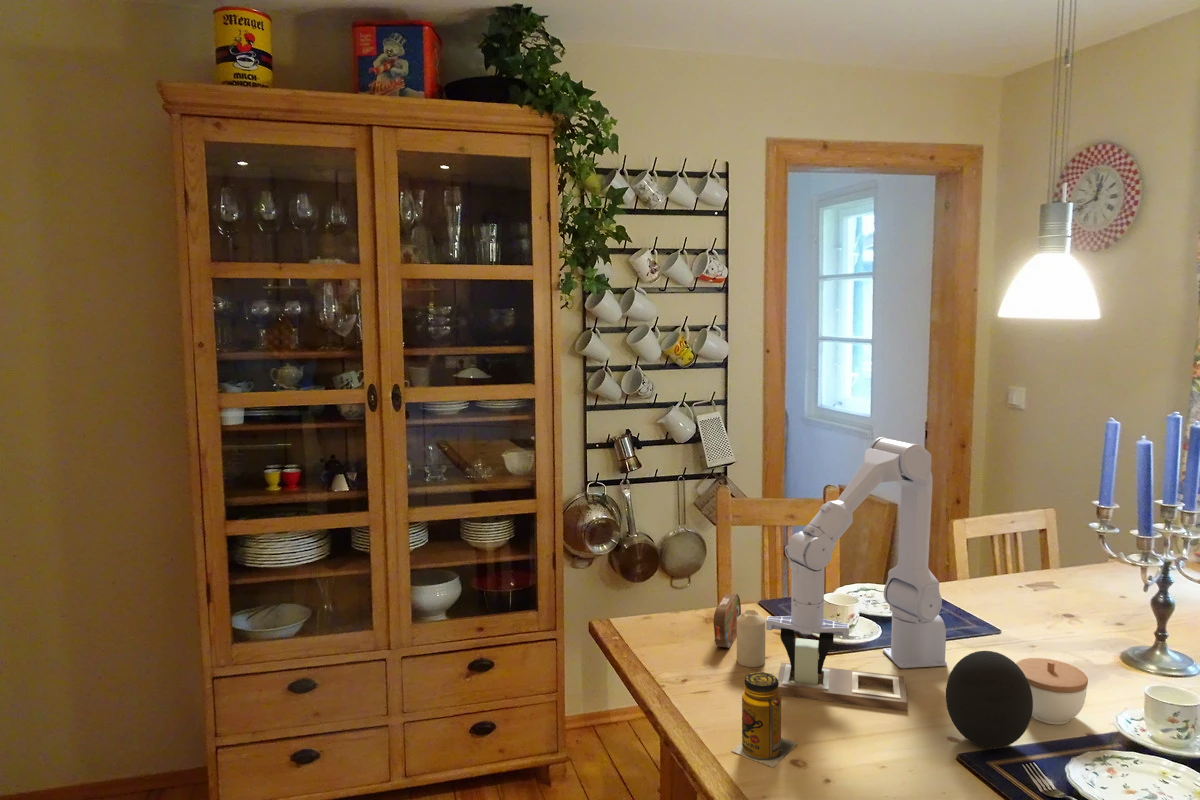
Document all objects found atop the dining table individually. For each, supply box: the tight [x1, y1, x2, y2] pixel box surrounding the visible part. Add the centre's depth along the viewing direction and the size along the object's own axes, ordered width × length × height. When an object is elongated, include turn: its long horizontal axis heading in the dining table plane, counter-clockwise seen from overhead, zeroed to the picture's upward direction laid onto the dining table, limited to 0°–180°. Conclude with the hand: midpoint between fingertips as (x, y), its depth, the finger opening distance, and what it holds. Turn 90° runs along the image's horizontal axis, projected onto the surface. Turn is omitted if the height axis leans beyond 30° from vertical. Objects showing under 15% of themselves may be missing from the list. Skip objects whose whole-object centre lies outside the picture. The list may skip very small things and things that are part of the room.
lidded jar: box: [1015, 657, 1089, 726], centre depth 135 cm, size 11×11×9 cm
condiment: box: [730, 671, 799, 768], centre depth 127 cm, size 7×8×12 cm
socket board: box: [777, 661, 908, 712], centre depth 146 cm, size 22×10×2 cm, turn 73°
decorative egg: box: [945, 650, 1033, 749], centre depth 127 cm, size 12×12×15 cm
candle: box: [736, 609, 766, 668], centre depth 157 cm, size 6×6×10 cm
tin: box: [712, 593, 742, 649], centre depth 168 cm, size 15×3×8 cm, turn 158°
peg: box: [794, 637, 819, 685], centre depth 148 cm, size 4×4×8 cm
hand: (806, 669), depth 148 cm, fingers closed on peg, 4 cm apart
